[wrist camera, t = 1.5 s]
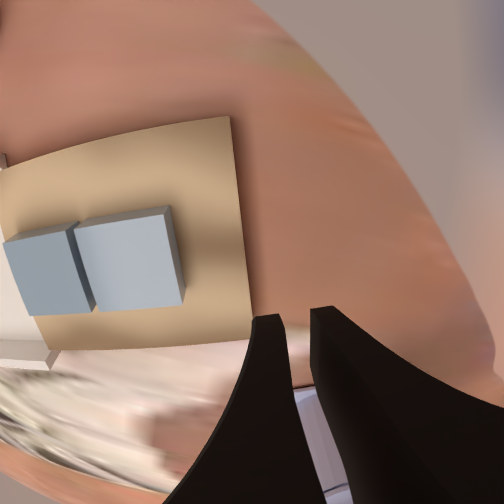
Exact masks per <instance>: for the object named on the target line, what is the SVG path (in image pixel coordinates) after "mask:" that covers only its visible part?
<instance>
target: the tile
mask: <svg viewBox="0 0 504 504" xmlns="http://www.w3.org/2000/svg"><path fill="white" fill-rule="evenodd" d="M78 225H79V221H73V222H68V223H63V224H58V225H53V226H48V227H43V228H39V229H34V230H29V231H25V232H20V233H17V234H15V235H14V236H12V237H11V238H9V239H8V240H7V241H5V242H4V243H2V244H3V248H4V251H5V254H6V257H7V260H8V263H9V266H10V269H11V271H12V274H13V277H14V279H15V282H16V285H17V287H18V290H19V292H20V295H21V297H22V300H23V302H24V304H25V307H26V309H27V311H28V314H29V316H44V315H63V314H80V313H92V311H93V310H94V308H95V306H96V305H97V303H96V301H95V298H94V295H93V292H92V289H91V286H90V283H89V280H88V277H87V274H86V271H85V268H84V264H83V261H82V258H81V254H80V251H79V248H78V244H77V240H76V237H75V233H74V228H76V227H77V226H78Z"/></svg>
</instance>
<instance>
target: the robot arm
mask: <svg viewBox="0 0 504 504" xmlns="http://www.w3.org/2000/svg"><path fill="white" fill-rule="evenodd" d="M310 368H311V372H312V376H313V380H314V385H315V386H312V387H307V388H301V389H295V390H293V386H292V378H291V371H290V363H289V355H288V348H287V341H286V333H285V328H284V325H283V322H282V320H281V317H280V315H279V314H271V315H263V316H256V317H255V318H254V319H253V320H252V328H251V335H250V341H249V345H248V349H247V353H246V356H245V359H244V362H243V365H242V369H241V372H240V375H239V377H238V380H237V382H236V385H235V387H234V389H233V392H232V394H231V397H230V399H229V401H228V404H227V406H226V408H225V410H224V412H223V414H222V416H221V418H220V420H219V422H218V424H217V426H216V427H215V429H214V431H213V433H212V435H211V436H210V438H209V440H208V441H207V443H206V445H205V446H204V448H203V449H202V451H201V453H200V454H199V456H198V457H197V459H196V460H195V462H194V463H193V465H192V466H191V468H190V469H189V471H188V472H187V473H186V475H185V476H184V478H183V479H182V480H181V481H180V483H179V484H178V485H177V486H176V488H175V489H174V490H173V491H172V493H171V494H170V495H169V496H168V497H167V499H166V500H165V501H164V502H163V503H162V504H504V408H502V407H499V406H496V405H493V404H490V403H488V402H485V401H483V400H480V399H478V398H475V397H473V396H470V395H468V394H466V393H464V392H461V391H459V390H457V389H455V388H453V387H451V386H449V385H447V384H445V383H443V382H442V381H440V380H438V379H436V378H434V377H432V376H430V375H428V374H427V373H425V372H423V371H422V370H420V369H418V368H417V367H415V366H414V365H412V364H411V363H409V362H407V361H406V360H404V359H403V358H401V357H400V356H398V355H397V354H395V353H394V352H392V351H391V350H390V349H388V348H387V347H385V346H384V345H383V344H381V343H380V342H378V341H377V340H376V339H374V338H373V337H372V336H371V335H369V334H368V333H367V332H365V331H364V330H363V329H361V328H360V327H359V326H358V325H356V324H355V323H354V322H353V321H351V320H350V319H349V318H348V317H347V316H345V315H344V314H343V313H342V312H340V311H339V310H338V309H337V308H335V307H334V306H333V305H332V306H326V307H320V308H313V309H310Z"/></svg>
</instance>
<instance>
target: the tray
mask: <svg viewBox="0 0 504 504" xmlns="http://www.w3.org/2000/svg"><path fill="white" fill-rule="evenodd" d="M6 168H7V163H6V157H5V154H2V155H0V171H1V170H3V169H6ZM4 242H5V240H4V236H3V233H2V229H1V226H0V366H2V367H12V368H23V369H36V370H50V369H51V367H52V366H53V364H54V362H55V360H56V358H57V357H58V355H59V353H60V351H61V350H49V349H48V347H47V345H46V343H45V341H44V339H43V337H42V335H41V333H40V330H39V328H38V326H37V324H36V322H35V320H34V317H33V316H29V314H28V311H27V309H26V307H25V304H24V302H23V300H22V297H21V295H20V292H19V290H18V287H17V285H16V282H15V279H14V277H13V274H12V271H11V269H10V266H9V263H8V260H7V257H6V254H5V251H4V248H3V244H2V243H4Z"/></svg>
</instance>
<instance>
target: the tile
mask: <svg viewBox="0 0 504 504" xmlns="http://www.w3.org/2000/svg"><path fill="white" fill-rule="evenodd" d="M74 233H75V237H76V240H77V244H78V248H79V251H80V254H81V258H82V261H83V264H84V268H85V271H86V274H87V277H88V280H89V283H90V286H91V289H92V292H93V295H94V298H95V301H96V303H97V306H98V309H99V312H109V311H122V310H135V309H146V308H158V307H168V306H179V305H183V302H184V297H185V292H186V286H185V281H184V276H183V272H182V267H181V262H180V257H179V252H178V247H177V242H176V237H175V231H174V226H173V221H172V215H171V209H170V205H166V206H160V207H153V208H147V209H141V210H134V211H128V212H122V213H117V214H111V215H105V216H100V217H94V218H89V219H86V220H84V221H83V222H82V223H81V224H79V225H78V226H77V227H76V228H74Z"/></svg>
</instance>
